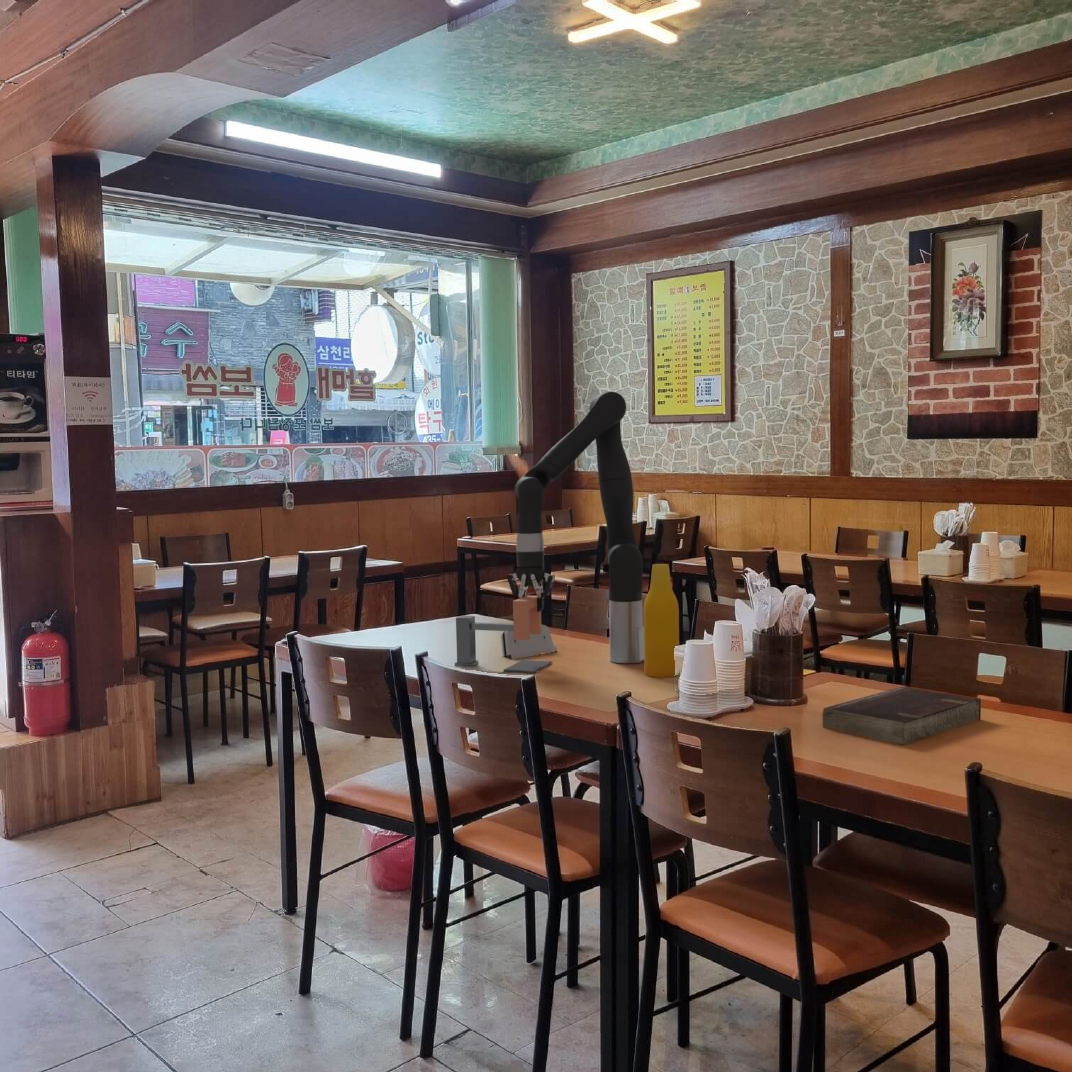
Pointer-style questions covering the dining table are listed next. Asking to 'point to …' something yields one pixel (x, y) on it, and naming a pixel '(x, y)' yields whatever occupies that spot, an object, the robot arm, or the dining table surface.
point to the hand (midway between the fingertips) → (531, 610)
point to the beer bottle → (660, 625)
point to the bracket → (472, 638)
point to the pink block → (526, 618)
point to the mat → (527, 666)
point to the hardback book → (902, 714)
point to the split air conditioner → (527, 644)
